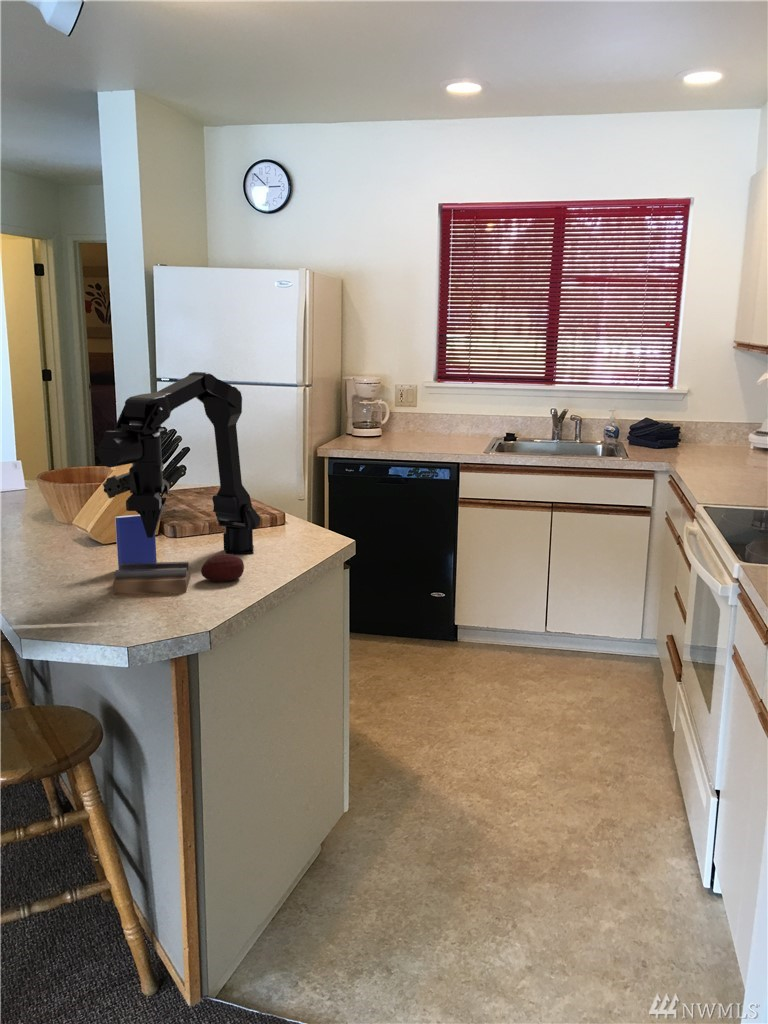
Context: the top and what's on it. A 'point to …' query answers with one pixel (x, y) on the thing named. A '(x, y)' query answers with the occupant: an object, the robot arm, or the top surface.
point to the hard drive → (133, 541)
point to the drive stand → (152, 578)
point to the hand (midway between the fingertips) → (151, 535)
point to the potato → (222, 568)
